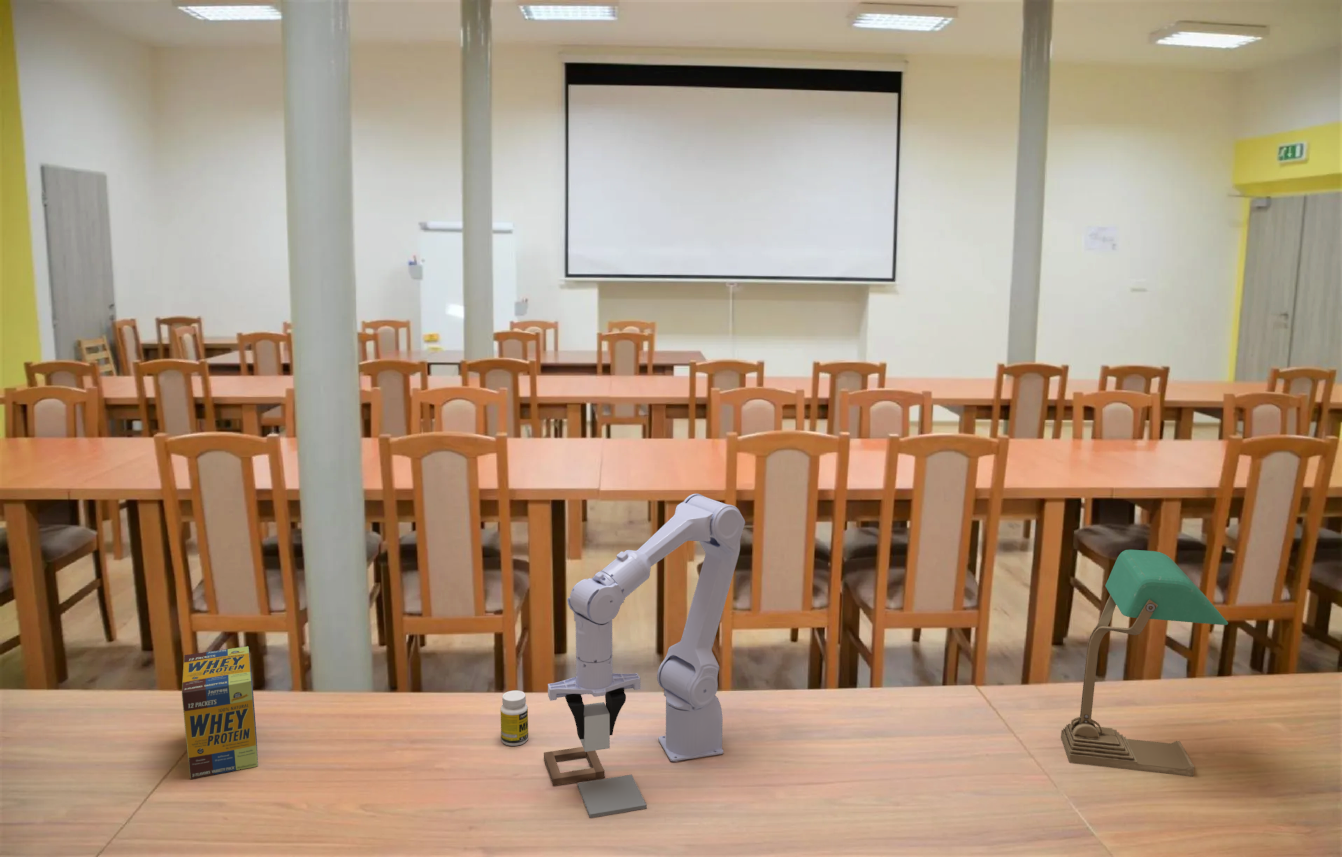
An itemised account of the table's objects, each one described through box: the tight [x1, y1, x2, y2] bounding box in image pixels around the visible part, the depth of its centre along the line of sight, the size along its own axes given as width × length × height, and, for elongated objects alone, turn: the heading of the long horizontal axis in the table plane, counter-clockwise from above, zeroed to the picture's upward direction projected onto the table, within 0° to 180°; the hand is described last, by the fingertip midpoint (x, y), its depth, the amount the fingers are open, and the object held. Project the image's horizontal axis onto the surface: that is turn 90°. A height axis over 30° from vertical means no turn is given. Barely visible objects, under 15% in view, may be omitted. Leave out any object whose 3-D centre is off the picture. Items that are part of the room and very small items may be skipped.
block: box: [579, 701, 611, 752], centre depth 159 cm, size 4×4×6 cm
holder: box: [543, 746, 606, 787], centre depth 166 cm, size 8×8×1 cm
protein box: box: [181, 645, 259, 780], centre depth 169 cm, size 10×15×16 cm
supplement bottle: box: [500, 690, 529, 747], centre depth 174 cm, size 5×5×8 cm
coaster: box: [577, 774, 648, 819], centre depth 158 cm, size 9×9×1 cm
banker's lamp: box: [1060, 549, 1229, 777], centre depth 168 cm, size 16×21×35 cm
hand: (594, 734), depth 160 cm, fingers closed on block, 4 cm apart
